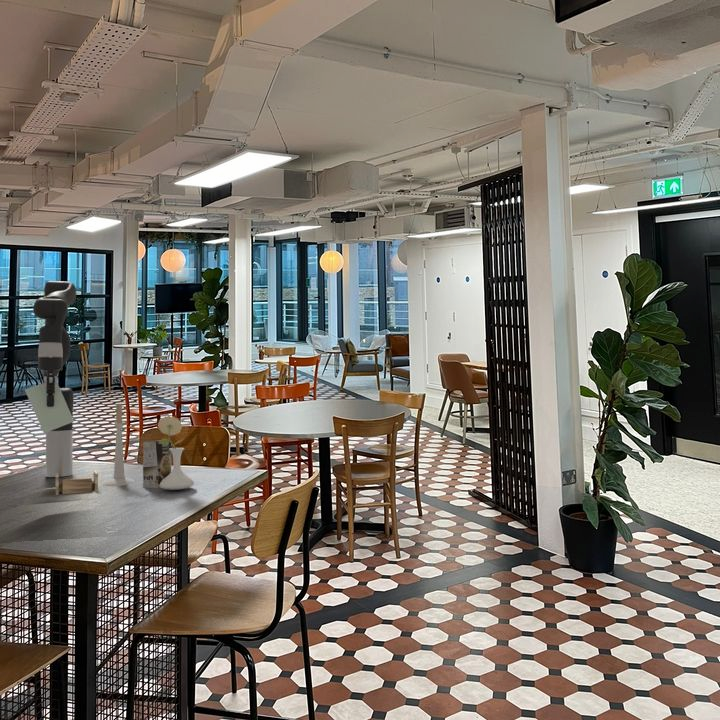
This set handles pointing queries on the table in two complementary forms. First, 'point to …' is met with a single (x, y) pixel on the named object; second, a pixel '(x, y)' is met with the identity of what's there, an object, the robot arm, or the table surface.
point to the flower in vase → (176, 477)
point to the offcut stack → (76, 485)
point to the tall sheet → (49, 408)
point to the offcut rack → (94, 483)
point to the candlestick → (118, 454)
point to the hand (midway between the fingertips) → (50, 406)
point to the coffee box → (155, 463)
